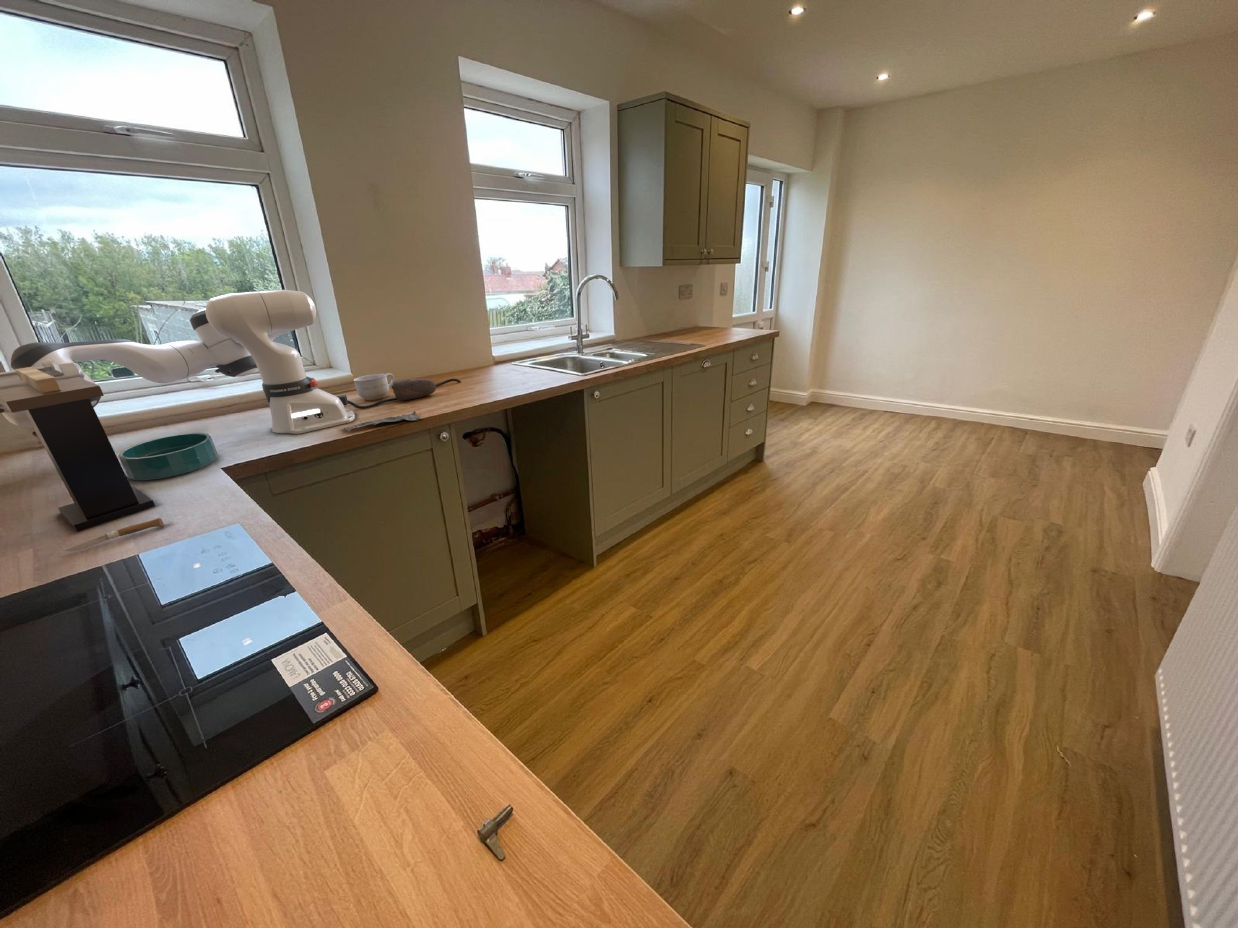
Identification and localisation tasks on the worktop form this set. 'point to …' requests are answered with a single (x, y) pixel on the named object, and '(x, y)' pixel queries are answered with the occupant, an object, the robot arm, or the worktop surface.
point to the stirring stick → (38, 379)
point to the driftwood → (387, 420)
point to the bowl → (168, 456)
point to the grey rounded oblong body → (413, 388)
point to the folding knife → (118, 534)
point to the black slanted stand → (79, 451)
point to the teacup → (373, 386)
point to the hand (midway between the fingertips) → (17, 368)
